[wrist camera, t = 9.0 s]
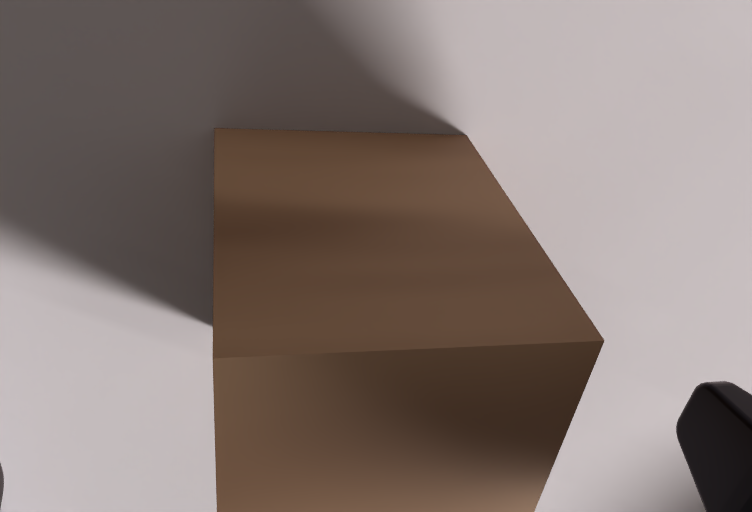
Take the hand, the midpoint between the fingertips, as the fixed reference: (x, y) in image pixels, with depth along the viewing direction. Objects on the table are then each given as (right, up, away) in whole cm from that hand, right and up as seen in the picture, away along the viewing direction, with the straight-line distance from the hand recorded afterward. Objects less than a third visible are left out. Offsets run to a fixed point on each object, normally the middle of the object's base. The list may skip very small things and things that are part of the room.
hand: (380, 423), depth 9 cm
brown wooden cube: (-1, +2, +3) cm, 4 cm away
